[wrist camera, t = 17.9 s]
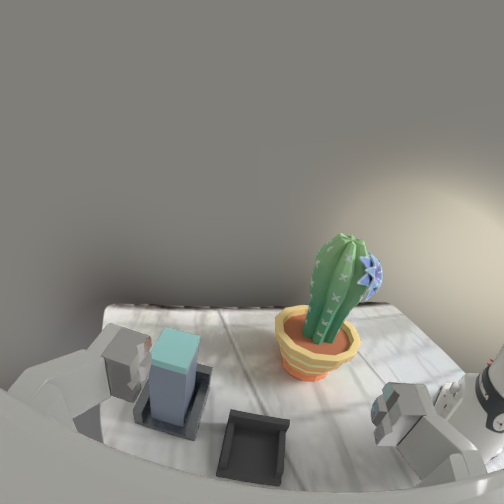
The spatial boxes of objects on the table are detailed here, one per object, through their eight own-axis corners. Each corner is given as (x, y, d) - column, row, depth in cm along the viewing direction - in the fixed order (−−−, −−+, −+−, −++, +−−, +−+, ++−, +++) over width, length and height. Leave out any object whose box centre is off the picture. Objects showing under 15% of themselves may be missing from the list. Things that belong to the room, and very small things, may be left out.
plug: (182, 426, 36) (186, 368, 31) (151, 417, 36) (147, 357, 31) (193, 396, 41) (200, 336, 37) (164, 387, 41) (165, 326, 37)
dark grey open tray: (279, 486, 30) (287, 475, 29) (215, 475, 30) (218, 464, 29) (282, 433, 38) (289, 419, 37) (227, 423, 39) (230, 409, 37)
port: (194, 440, 35) (197, 416, 32) (134, 422, 35) (130, 395, 32) (209, 389, 44) (213, 362, 41) (157, 375, 44) (157, 347, 42)
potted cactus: (278, 400, 44) (328, 256, 34) (255, 338, 58) (285, 212, 48) (358, 388, 49) (419, 263, 39) (325, 336, 62) (365, 223, 52)
